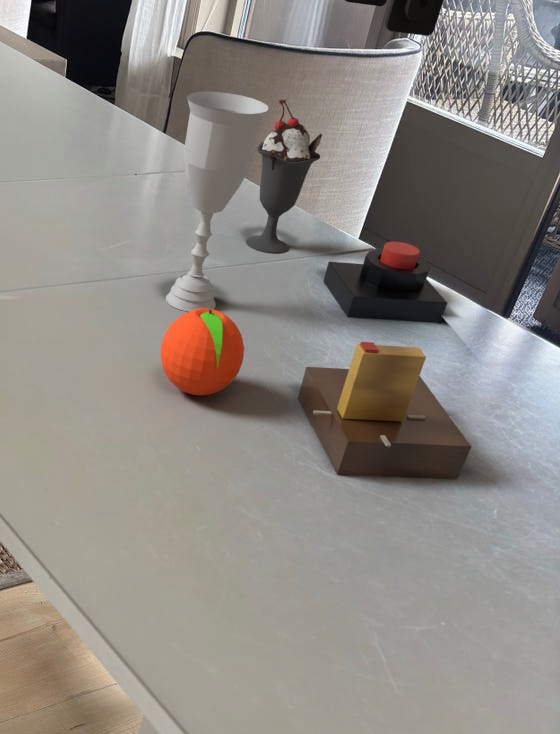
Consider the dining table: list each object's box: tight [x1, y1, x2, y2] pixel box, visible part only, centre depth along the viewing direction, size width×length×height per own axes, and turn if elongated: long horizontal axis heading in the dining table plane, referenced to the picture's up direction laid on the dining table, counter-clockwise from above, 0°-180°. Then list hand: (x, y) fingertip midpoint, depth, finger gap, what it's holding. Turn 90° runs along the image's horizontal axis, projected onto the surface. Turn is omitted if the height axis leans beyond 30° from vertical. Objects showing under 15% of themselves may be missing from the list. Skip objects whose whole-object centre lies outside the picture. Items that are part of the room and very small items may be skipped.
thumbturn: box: [337, 341, 427, 421], centre depth 75 cm, size 5×2×6 cm, turn 95°
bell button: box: [380, 241, 421, 270], centre depth 100 cm, size 4×4×2 cm
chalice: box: [165, 91, 270, 312], centre depth 91 cm, size 7×7×18 cm
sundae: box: [245, 99, 323, 254], centre depth 106 cm, size 7×7×15 cm
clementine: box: [160, 308, 245, 396], centre depth 81 cm, size 8×7×7 cm
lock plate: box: [297, 366, 472, 480], centre depth 79 cm, size 12×13×3 cm
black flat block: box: [322, 248, 448, 324], centre depth 101 cm, size 10×9×4 cm
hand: (384, 17), depth 66 cm, fingers open, 9 cm apart
